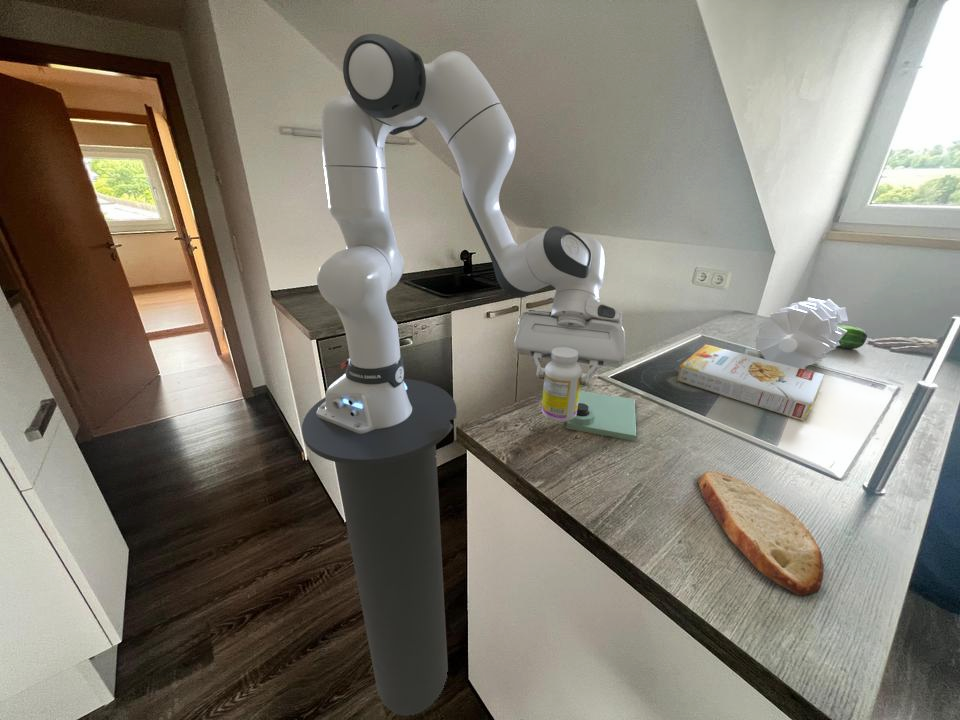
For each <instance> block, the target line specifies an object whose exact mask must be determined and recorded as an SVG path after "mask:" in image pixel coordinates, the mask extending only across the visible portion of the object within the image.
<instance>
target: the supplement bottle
mask: <svg viewBox="0 0 960 720" xmlns="http://www.w3.org/2000/svg"><path fill="white" fill-rule="evenodd" d="M551 358H552V359H551V360H550V361H548V362H547V363H546V364H545V367H544V368H545V373H544V379H543V388H542V389H543V390H542V400H541V401H542V402H541V412H542V414H543V415H544V417H546V418H547V419H549V420H551V421H554V422H555V421H556V422H567V421H569V420H572V419H573V418H575V416H576V414H577V409H578V401H579V392H580V391H581V385H580V380H581V375H582V373H583V369H582V366H581V365H580V363H578V362H577V360H578V351H576V350H575V349H572V348H568V347H558V348H554V349H553V350H552V354H551Z"/></svg>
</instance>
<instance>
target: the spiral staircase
mask: <svg viewBox="0 0 960 720" xmlns="http://www.w3.org/2000/svg"><path fill="white" fill-rule="evenodd" d="M789 304H790V305H789V306H788V307H780V308H779V312H772V313H771V312H770V313H769V318H767V319H766V320H764V321H763V322H761V323H760V324H759V325H757V327H758V328H759V330H758V332H757V334H756V337H755V339H754V342H755V350H756V351H759V352H760V354H761V355H762V357H763V359H765V360H769V361H773V362H777V363H781V364H785V365H788V366H792V367H796V368H800V369H804V370H807V369H806V368H807V367H808V366H811V365H814V364H817V363H820V362H822V361H823V360H822V359H824V358H827V355H826V353H828V352H831V351H833V350H836V349H837V347H836V346H839V345H840V344H839V342H838V341H839V340H840V339H841V338H842V336H843V335H844V334H845V333H846V332H847V331H846V330H844V329H841V328H839V327H838V326H839V325H840V324H843V322H848V321H849V318H848V317H849V316H848V313H847V309H846V307H839V305H837V304H836V303H835V302H833V300H831V299H830V298H828V299H826V300H821V299H816V298H812V297H808V298H807V300H804V301H798V302H793V303H789Z"/></svg>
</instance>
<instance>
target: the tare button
mask: <svg viewBox="0 0 960 720" xmlns="http://www.w3.org/2000/svg"><path fill="white" fill-rule="evenodd" d="M588 409H589V407H588V405H586V404H583V403H578V409H577V414H576V415H577V416H587V415H588Z"/></svg>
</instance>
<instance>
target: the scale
mask: <svg viewBox="0 0 960 720" xmlns="http://www.w3.org/2000/svg"><path fill="white" fill-rule="evenodd" d="M578 403H583V404H586V405H588V407H589V409H588V415H587V416H577V415H576V416H575V418H573V419H572V420H569V421H566V430H573V431H578V432H582V433H583V432H584V433H588V434H593V435H594V434H595V435H599V436H604V437H609V438H616V439H620V440H621V439H622V440H627V441H631V442H635V441H636V438H637V429H636V428H637V426H636V424H637V423H636V404H635V403H636V402H635V398H629V397H625V396H624V397H623V396H616V395H611V394H602V393H597V392H591V391H584V390H580V392H579V401H578Z"/></svg>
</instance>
